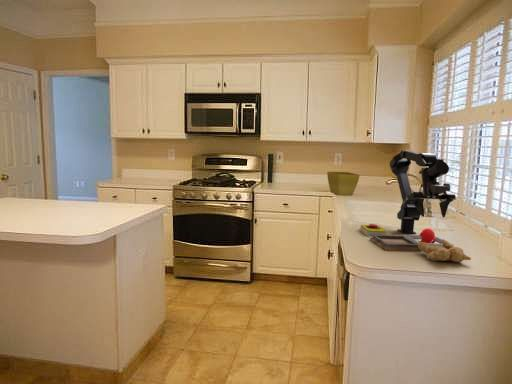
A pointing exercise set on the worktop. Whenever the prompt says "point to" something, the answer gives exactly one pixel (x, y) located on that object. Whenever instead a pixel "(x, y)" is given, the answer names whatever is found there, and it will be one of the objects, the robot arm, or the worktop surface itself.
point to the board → (394, 243)
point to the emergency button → (372, 230)
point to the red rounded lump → (428, 236)
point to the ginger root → (443, 252)
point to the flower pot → (342, 182)
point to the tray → (421, 238)
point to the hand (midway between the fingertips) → (433, 216)
